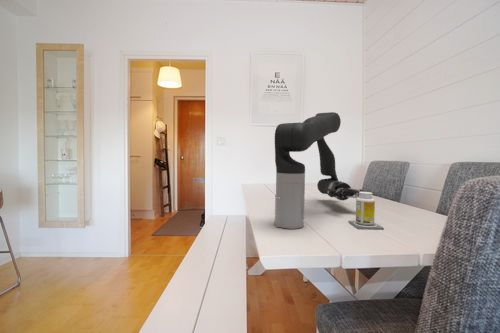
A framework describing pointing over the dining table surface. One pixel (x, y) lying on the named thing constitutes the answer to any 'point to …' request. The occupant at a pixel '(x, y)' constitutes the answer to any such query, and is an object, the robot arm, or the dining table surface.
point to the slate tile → (366, 226)
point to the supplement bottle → (365, 208)
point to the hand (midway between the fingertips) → (353, 196)
